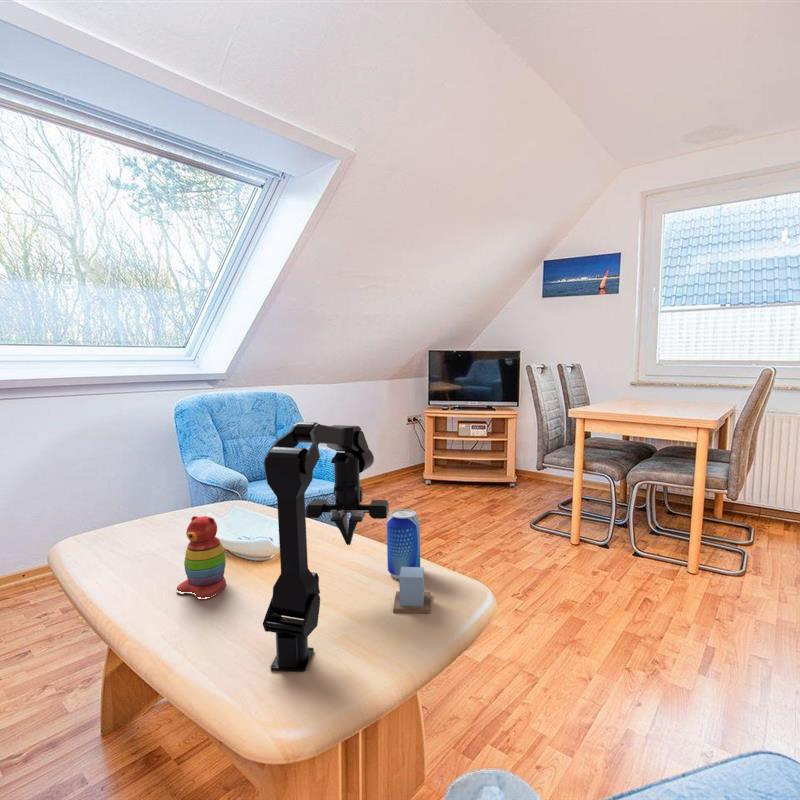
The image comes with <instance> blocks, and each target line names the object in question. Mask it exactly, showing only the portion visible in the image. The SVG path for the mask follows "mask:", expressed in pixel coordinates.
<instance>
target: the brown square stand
mask: <svg viewBox="0 0 800 800" xmlns="http://www.w3.org/2000/svg"><path fill="white" fill-rule="evenodd" d="M392 613H397V614H398V613H403V614H404V613H405V614H406V613H407V614H409V613H410V614H430V613H431V591H424V604H423V606H400V590H397V591H395V596H394V603H393V609H392Z"/></svg>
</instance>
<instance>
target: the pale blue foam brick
mask: <svg viewBox="0 0 800 800" xmlns="http://www.w3.org/2000/svg"><path fill="white" fill-rule="evenodd" d="M398 581H399V586H398V587H399V591H400V606H423V604H424V592H425V568H424V566H423V567H422V566H420V567H401V571H400V576H399V579H398Z"/></svg>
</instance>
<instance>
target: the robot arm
mask: <svg viewBox="0 0 800 800" xmlns="http://www.w3.org/2000/svg"><path fill="white" fill-rule="evenodd" d="M299 443H302V444H303V443H304V444H311V445H310V446H309V449H307V448H306V447H305V448H304V447H301V448H300V447H297V446H298V445H299ZM320 444H323V445H326V447H327V448H329V449H331V450H333V451H335V452H336V453H335V454H334V456H333V457H332V458H331V460H330V463H331V464H333V469H334V472H333V473H334V485H333V496H334V499H335V500H334V501H335V504H334V503H329V502H328V500H327V499H324V498H323V499H321V498H320V499H318V498H317V499H315V498H313V499H312V500H310V502H309V503H308V504H306V497H305V496H306V491H307V490H308V488H309V487H310V484H311V483H312V481H313V475H314V469H315V467H316V466H317V463H318V462H319V460H320V457H321V454H320V450H319V449H320V448H319V445H320ZM374 461H375V457H374V454H373V452H372V451H371V449H370V448H369V444H368V442H367V440H366V436H365V433H364V432H363V430H362V428H361V426H360V425H345V424H344V425H340V424H337V425H336V424H334V425H325V424H320V423H318V422H313V421H309V422H308V421H307V422H306V421H298V422H296V423H294V424H293V426H292V427H291V428H290V430H289V431H288V432H287V433H285V434H283V435H282V436H280V438H279V437H278V439H276V440H275V441H274V442H273V444H272V446H271V447H270V448H269V450H268V451H267V453H266V455H265V457H264V461H263V467H264V472H265V477H266V483H267V485H268V487H269V488H270V490H271V491H272V493H273V494H274V495H275V496H276V500H277V501H276V503H277V504H276V505H277V521H278V541H279V542H278V544H279V559H280V574H279V576H278V578H277V580H276V581H275V584H274V585H273V586H272V597H271V599H270V602H269V605H268V607H267V610H266V613H265V616H264V619H263V621H262V627H263V630H264V632H266V633H267V632H270V633H275V644H276V645H275V647H276V655H275V657H274V658H273V661H272V663H271V665H270V666H269V667H270V670H271V671H287V672H305V671H306V670H307V669H308V668H307V667H308V666H309V663H310V660H311V658H312V656H313V654H314V651H315V650H314V649H315V648H314V647H309V646H308V645H309V644H308V643H309V641H308V638H309V636H310V634H312V633H313V631H314V630H315V629H316V628H317V627H318V625H319V624H318V623H319V614H320V608H321V607H320V606H321V597H320V593H321V590H320V585H319V584H320V576H319V574H318V573H317V572H312V571H311V570H310V569H309V563H308V542H307V541H308V540H307V518H308V519H319V518H321V516H322V515H323V513H331V516H330V519H329V520H330V522H332V523H334V524H335V525H336V527H337V529H338V530H339V532H340V534H341V536H342V538H343V540H344V542H345V545H347V546H351V544H352V542H353V537H354V533H355V529H356V526H357V524H358V523H361V522H362V521H363V520H364V517H366V516H365V515H366V514H368V515H369V517H370V518H371V519H373V520H376V519H377V520H378V519H379V520H381V519H382V520H383V519H387V518H388V515H389V511H390V504H389V502H388V501H387V499H372V500H371V502H370V504H369V503H368V504H364V503H363V504H361V503H362V502H363V497H364V496H363V495H364V494H363V493H364V488H363V486H361V483H360V474H362V473H363V472H365V471H366V470H367V469H369V468H370V467H371V466H373V464H374ZM349 513H350V517H349V519H348V514H349Z"/></svg>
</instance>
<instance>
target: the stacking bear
mask: <svg viewBox="0 0 800 800" xmlns="http://www.w3.org/2000/svg"><path fill="white" fill-rule="evenodd" d="M185 531H186V532H185V533H186V534H185V535H186V537H187V539H188V540H189V542H188V544H187V547H186V549H185V555H184V565H183V566H184V571H185V575H186V580H184V581H183V582H181V583H180V584H178V585H177V587H176V591H177V590H178V591H181V592H192V593H195V594H196V596H197V597H201V598H205V597H211V596H213V595H215V594H217V593H218V594H220V593H221V592H222V591H223V590H224V589H225V587H226V586H227V581H226V578H225V576H224V575H225V570H226V563H227V562H226V558H227V557H226V553H225V550H224V546H223V544H222V542H221V541H220V539H219V538H218V537H217V532H218V524H217V521H216V520H215V518H214V517H211V516H209V515H208V516H206V515H203V516H197V515H194V516H192V517H191V521H190V523H189V524H188V526H187V528H186V530H185ZM223 588H224V589H223ZM222 589H223V590H222ZM221 590H222V591H221ZM220 591H221V592H220ZM219 592H220V593H219ZM218 594H217V595H218ZM196 596H195V597H196Z"/></svg>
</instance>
